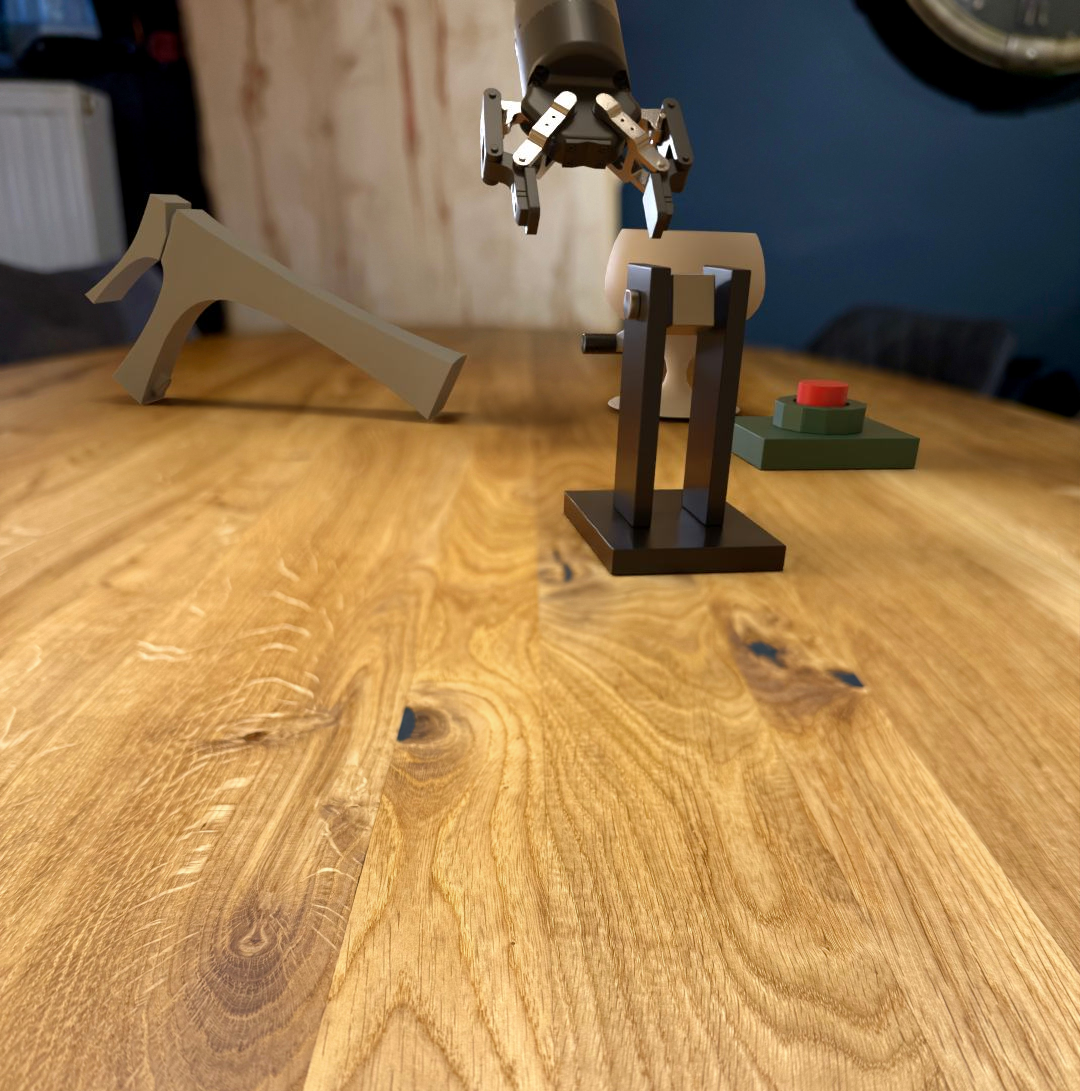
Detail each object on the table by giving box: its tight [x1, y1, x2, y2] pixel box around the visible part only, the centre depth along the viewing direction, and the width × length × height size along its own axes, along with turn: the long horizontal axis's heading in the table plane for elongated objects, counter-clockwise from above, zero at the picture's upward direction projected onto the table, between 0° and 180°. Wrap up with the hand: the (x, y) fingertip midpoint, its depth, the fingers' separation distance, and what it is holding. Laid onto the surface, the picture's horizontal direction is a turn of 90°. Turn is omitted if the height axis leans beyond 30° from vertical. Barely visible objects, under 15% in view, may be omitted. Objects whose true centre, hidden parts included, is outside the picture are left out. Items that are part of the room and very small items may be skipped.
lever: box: [580, 274, 715, 356], centre depth 57 cm, size 14×5×2 cm, turn 10°
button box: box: [731, 394, 921, 471], centre depth 78 cm, size 12×9×4 cm
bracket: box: [563, 263, 787, 576], centre depth 54 cm, size 12×9×14 cm
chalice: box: [604, 228, 766, 419], centre depth 92 cm, size 14×14×15 cm
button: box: [796, 379, 850, 407], centre depth 77 cm, size 4×4×2 cm
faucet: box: [84, 193, 468, 420], centre depth 88 cm, size 6×17×30 cm
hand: (597, 227), depth 68 cm, fingers open, 8 cm apart
